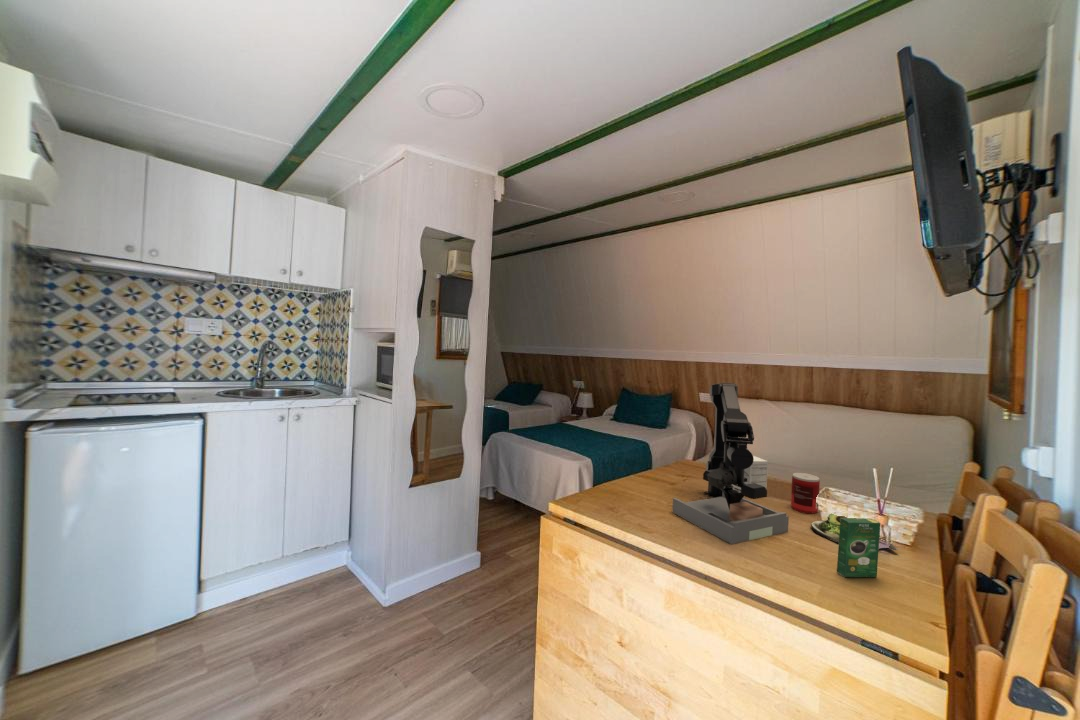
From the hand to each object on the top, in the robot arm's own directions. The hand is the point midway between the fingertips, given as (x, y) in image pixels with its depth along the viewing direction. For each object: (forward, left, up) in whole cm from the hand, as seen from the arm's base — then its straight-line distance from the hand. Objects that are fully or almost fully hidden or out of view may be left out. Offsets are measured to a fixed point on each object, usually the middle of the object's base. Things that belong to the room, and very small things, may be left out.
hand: (731, 511), depth 126 cm
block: (+5, 0, -1) cm, 5 cm away
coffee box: (+32, +5, -4) cm, 32 cm away
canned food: (0, +33, -4) cm, 33 cm away
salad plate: (+18, +26, -4) cm, 32 cm away
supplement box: (-18, +30, -4) cm, 35 cm away
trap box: (-2, 0, -4) cm, 4 cm away
